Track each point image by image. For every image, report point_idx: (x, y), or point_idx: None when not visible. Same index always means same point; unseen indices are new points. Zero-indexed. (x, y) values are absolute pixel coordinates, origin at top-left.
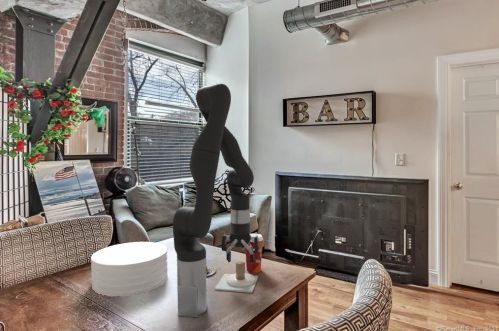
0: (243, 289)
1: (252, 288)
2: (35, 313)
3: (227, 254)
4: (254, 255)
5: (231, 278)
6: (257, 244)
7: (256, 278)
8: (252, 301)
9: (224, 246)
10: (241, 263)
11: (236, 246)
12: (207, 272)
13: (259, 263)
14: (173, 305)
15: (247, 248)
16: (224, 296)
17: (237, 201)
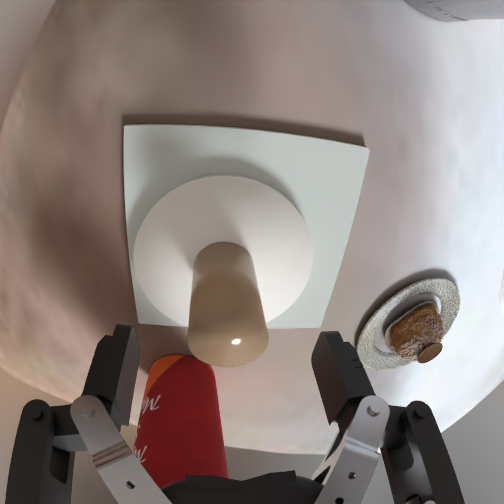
0: (184, 141)
1: (128, 163)
2: None
3: (361, 386)
4: (162, 430)
5: (281, 260)
6: (9, 479)
7: (137, 295)
8: (117, 21)
9: (419, 442)
10: (216, 338)
11: (287, 480)
12: (393, 323)
13: (145, 396)
14: (490, 26)
15: (124, 461)
16: (300, 61)
17: None
